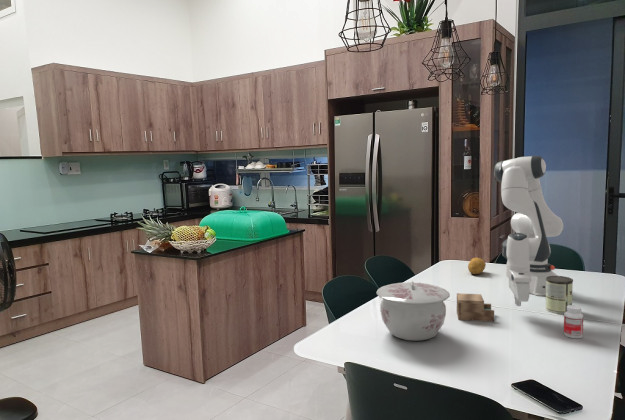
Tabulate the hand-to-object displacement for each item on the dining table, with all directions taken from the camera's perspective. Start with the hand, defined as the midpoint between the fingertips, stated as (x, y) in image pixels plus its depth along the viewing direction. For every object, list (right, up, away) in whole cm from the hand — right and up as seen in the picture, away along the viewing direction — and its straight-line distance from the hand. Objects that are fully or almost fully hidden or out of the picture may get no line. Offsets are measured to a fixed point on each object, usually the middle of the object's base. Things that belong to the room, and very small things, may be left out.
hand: (518, 305), depth 189 cm
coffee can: (+21, -4, +8) cm, 23 cm away
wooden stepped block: (-17, -6, +3) cm, 18 cm away
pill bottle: (+11, -7, -20) cm, 24 cm away
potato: (+10, +2, +74) cm, 75 cm away
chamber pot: (-47, -9, -14) cm, 50 cm away
